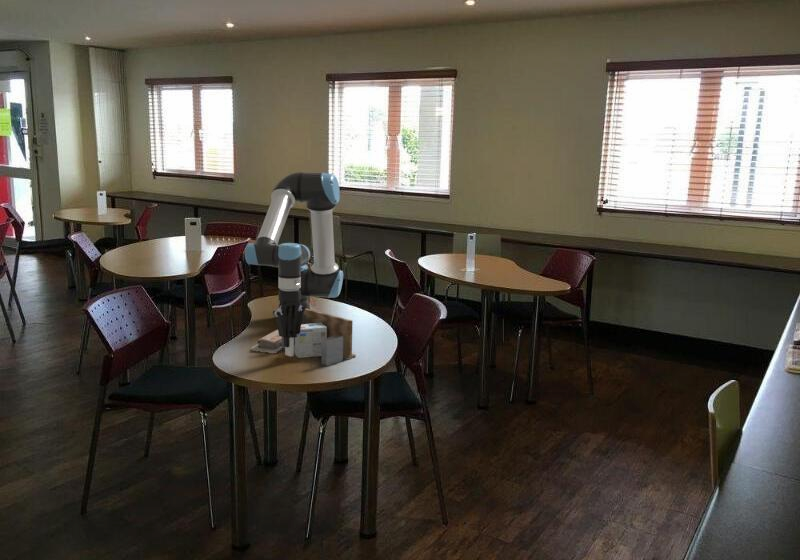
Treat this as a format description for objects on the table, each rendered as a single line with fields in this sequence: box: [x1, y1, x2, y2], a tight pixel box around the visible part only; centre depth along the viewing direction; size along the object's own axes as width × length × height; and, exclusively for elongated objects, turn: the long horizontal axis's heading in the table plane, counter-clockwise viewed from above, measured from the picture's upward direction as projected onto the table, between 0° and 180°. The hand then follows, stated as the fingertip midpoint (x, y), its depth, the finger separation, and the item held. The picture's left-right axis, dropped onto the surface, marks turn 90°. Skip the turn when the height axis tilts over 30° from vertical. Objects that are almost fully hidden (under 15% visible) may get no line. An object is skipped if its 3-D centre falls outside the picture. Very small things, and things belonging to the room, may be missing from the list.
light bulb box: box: [294, 323, 327, 359], centre depth 236 cm, size 11×7×11 cm, turn 114°
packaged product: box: [250, 328, 283, 354], centre depth 246 cm, size 18×5×10 cm
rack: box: [282, 308, 357, 360], centre depth 237 cm, size 25×13×14 cm, turn 50°
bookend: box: [321, 335, 344, 367], centre depth 228 cm, size 2×8×9 cm, turn 140°
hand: (289, 355), depth 229 cm, fingers closed
